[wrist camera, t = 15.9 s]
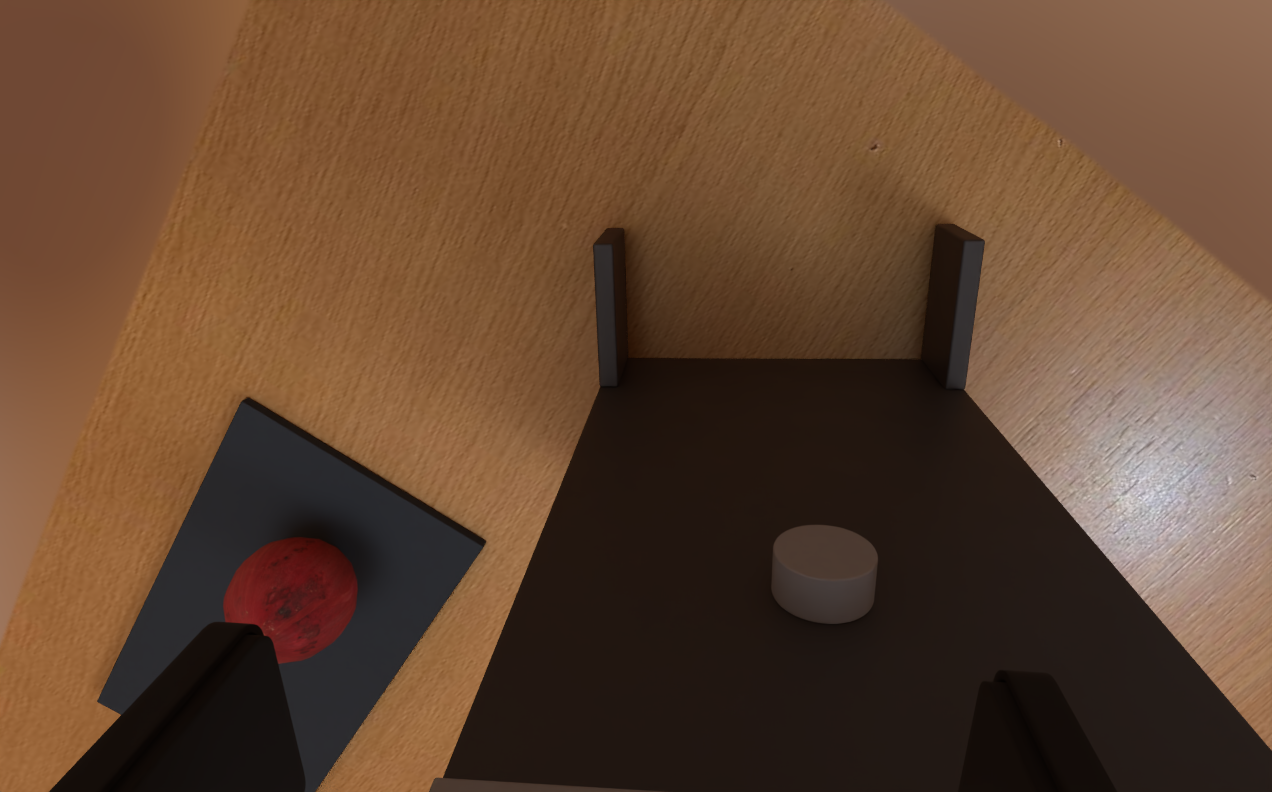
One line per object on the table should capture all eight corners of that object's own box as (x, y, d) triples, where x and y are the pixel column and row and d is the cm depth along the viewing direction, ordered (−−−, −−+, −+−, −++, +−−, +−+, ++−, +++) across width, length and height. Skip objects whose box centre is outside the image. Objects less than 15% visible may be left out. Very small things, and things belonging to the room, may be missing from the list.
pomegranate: (327, 488, 39) (237, 579, 32) (404, 568, 41) (334, 672, 33) (254, 543, 41) (152, 642, 34) (330, 618, 42) (248, 728, 35)
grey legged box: (604, 227, 34) (356, 511, 11) (957, 223, 32) (1576, 542, 9) (615, 492, 38) (460, 1091, 15) (923, 499, 37) (1275, 1175, 14)
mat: (248, 396, 39) (241, 401, 38) (486, 541, 40) (483, 546, 40) (103, 694, 47) (96, 701, 46) (306, 803, 49) (301, 811, 48)
